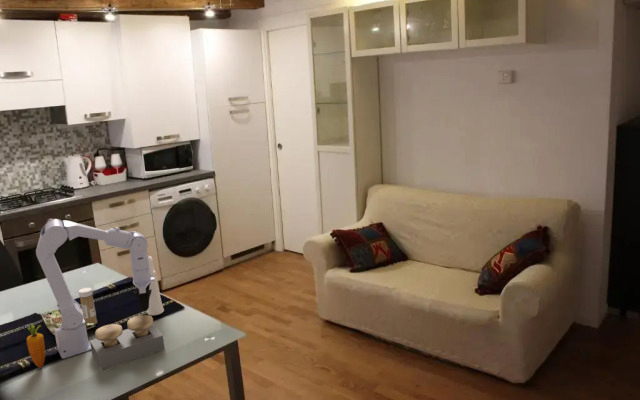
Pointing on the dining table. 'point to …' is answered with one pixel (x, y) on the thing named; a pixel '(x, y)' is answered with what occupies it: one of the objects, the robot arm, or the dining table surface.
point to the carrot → (36, 346)
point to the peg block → (127, 348)
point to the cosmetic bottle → (154, 293)
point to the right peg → (140, 325)
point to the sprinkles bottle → (88, 305)
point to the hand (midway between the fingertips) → (145, 304)
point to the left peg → (109, 334)
